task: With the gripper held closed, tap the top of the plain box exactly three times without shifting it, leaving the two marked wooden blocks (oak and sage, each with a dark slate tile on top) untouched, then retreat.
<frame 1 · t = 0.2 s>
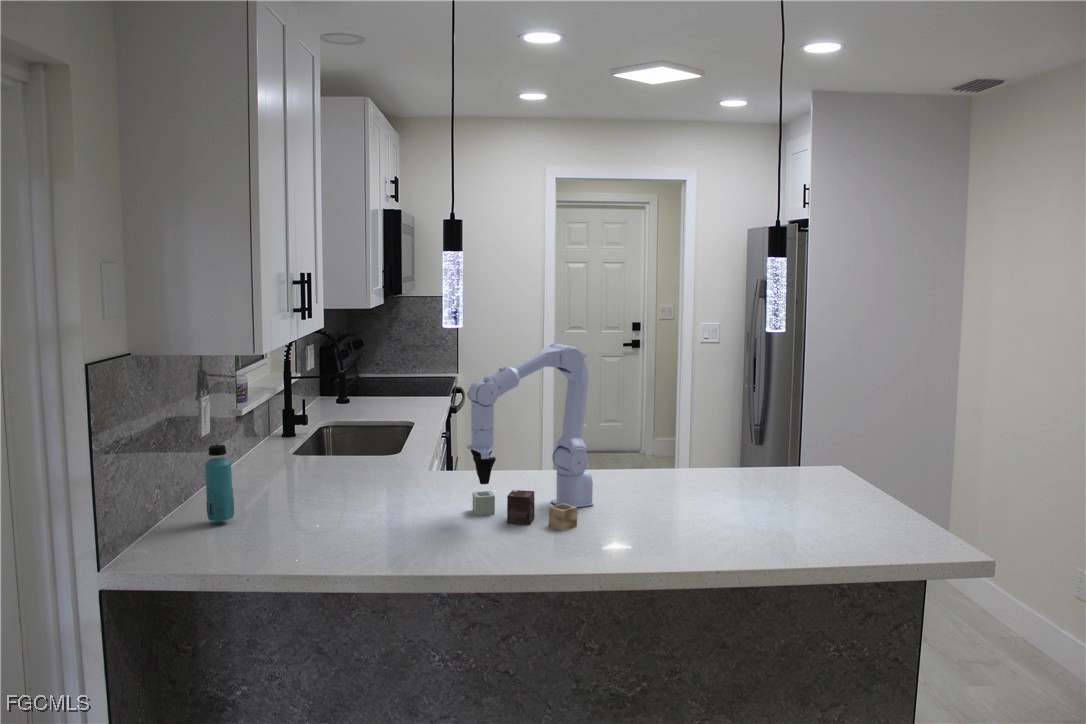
hand: (483, 479, 220), 10 cm above the worktop, fingers open, 7 cm apart
oak marked block: (562, 526, 215), on the worktop
beverage bottle: (220, 523, 216), on the worktop
sage marked block: (483, 512, 227), on the worktop
box: (520, 521, 219), on the worktop
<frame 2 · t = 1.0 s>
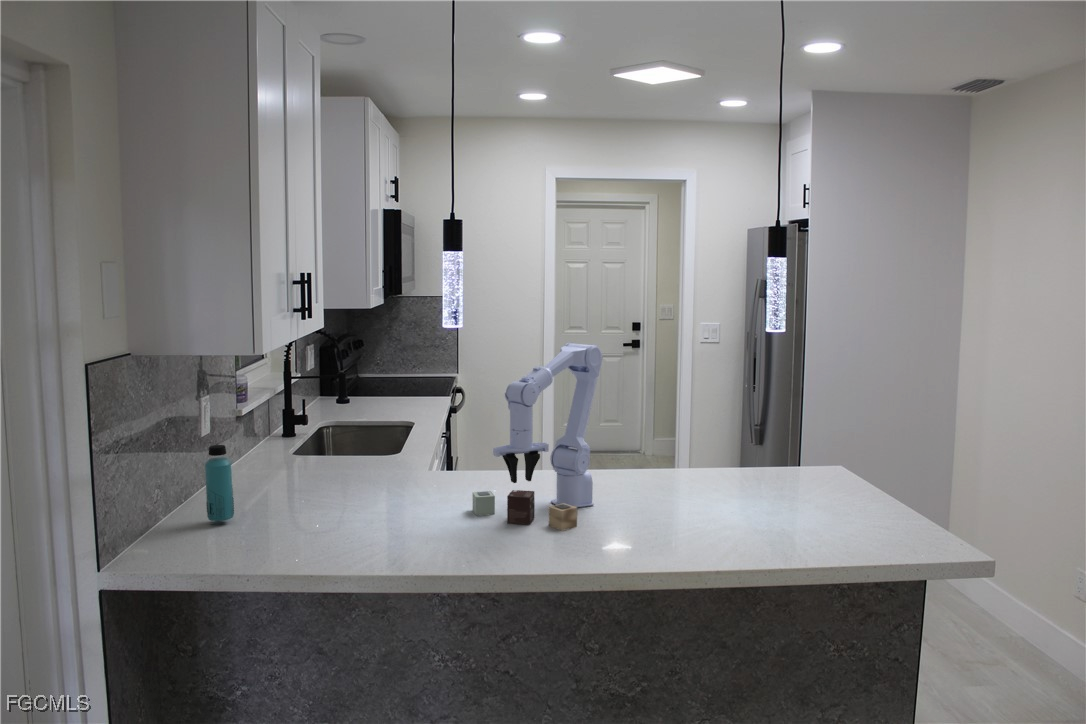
hand: (521, 481, 218), 10 cm above the worktop, fingers open, 3 cm apart
nothing on the worktop moved.
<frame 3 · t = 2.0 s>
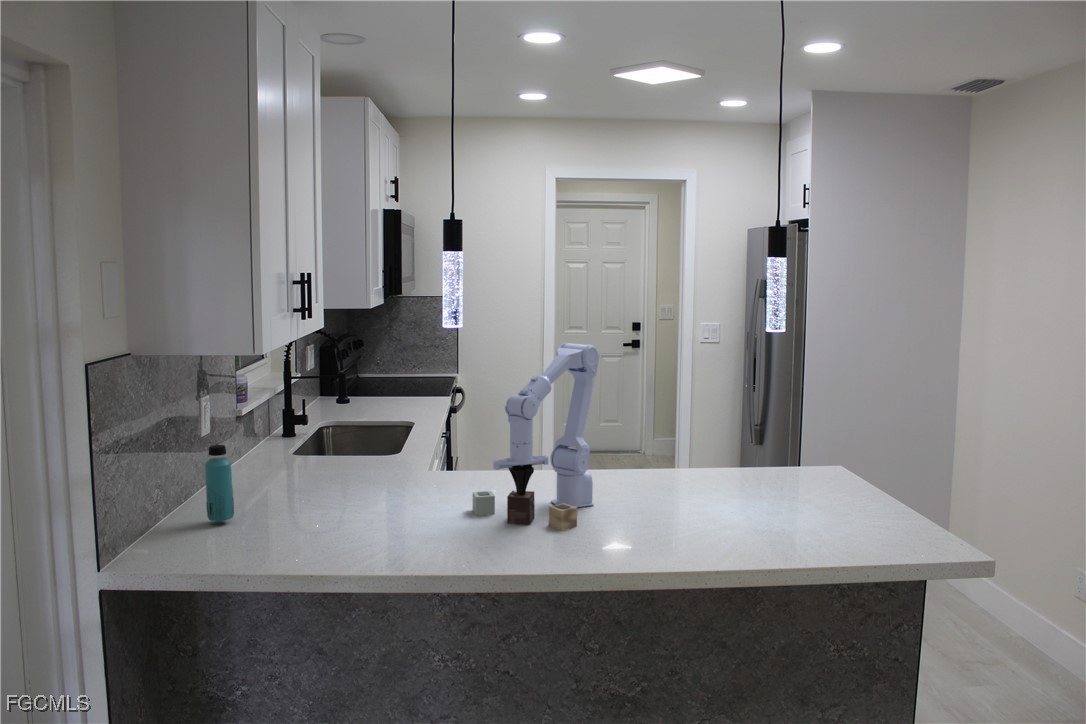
hand: (520, 494, 218), 7 cm above the worktop, fingers closed, pressing on box
box: (520, 522, 219), on the worktop, touching gripper
everything else where it was.
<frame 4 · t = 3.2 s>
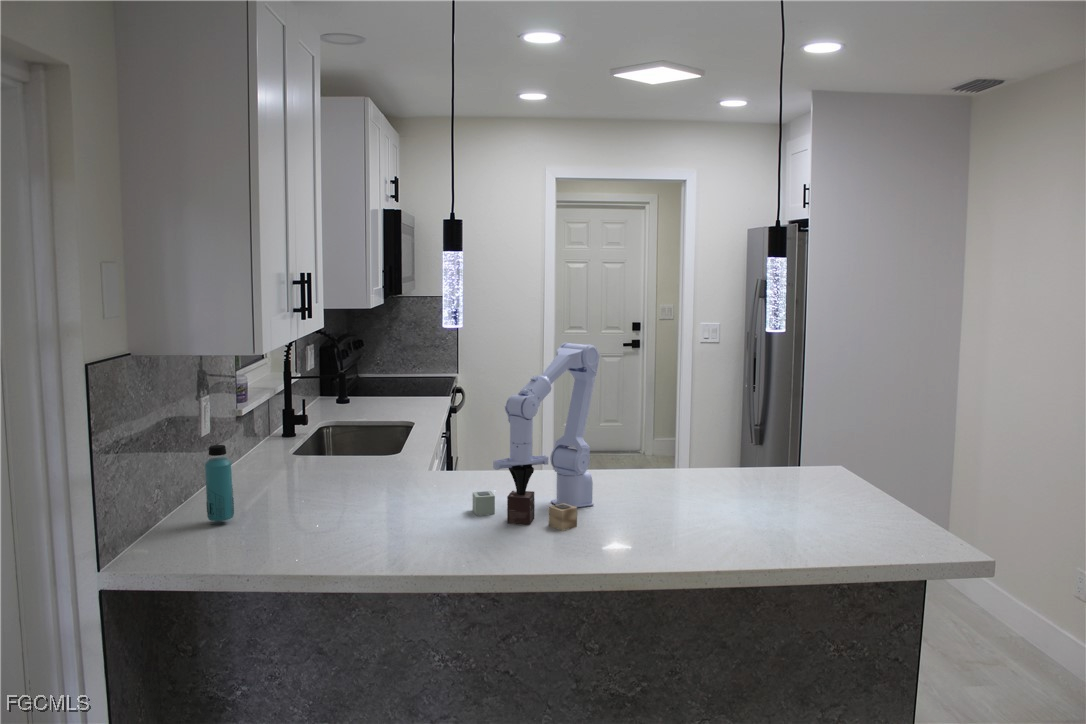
hand: (520, 494, 218), 7 cm above the worktop, fingers closed, pressing on box
box: (520, 522, 219), on the worktop, touching gripper
everything else where it was.
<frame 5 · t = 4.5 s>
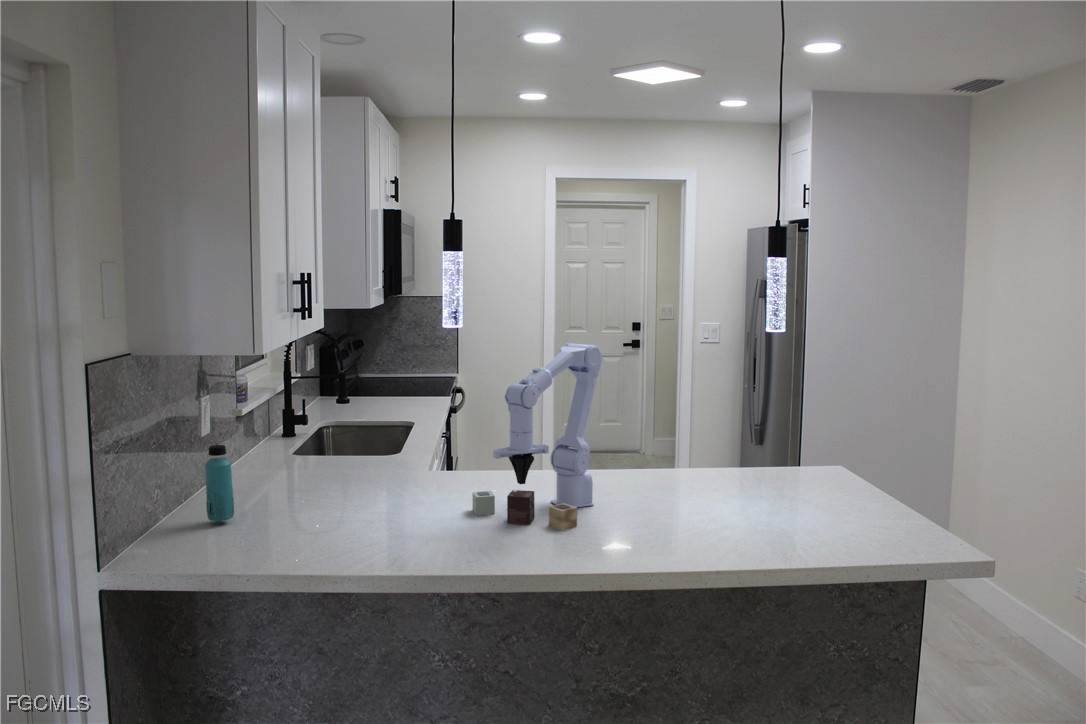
hand: (521, 483, 218), 10 cm above the worktop, fingers closed
box: (520, 521, 219), on the worktop
everything else where it was.
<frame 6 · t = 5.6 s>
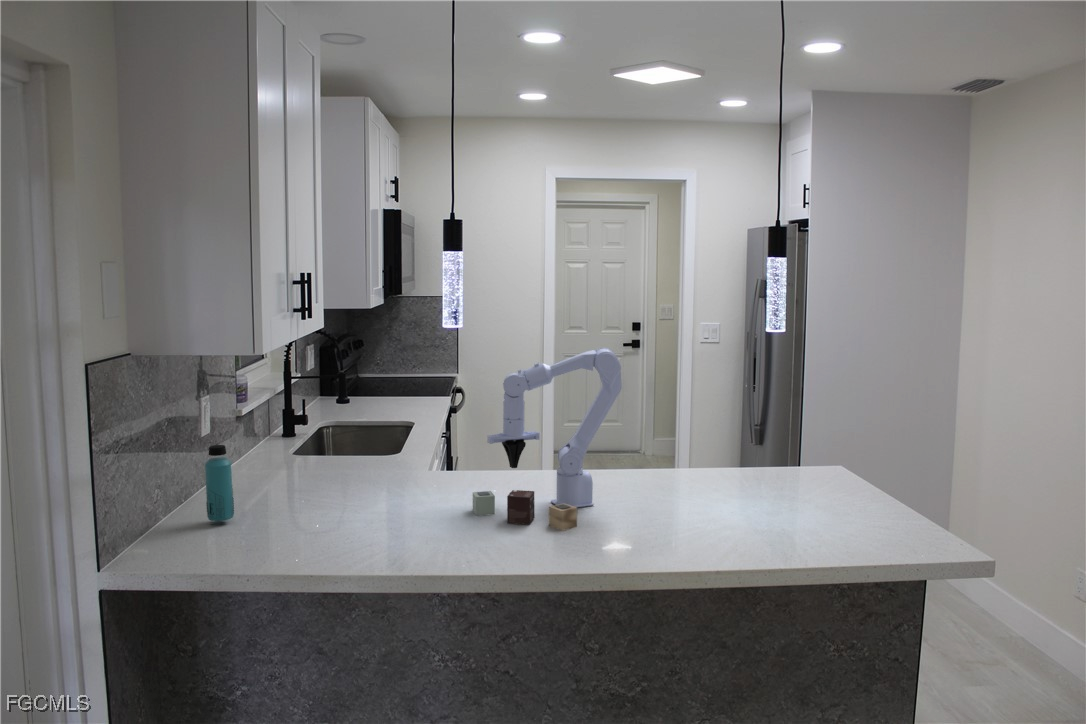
hand: (513, 467, 232), 10 cm above the worktop, fingers closed
nothing on the worktop moved.
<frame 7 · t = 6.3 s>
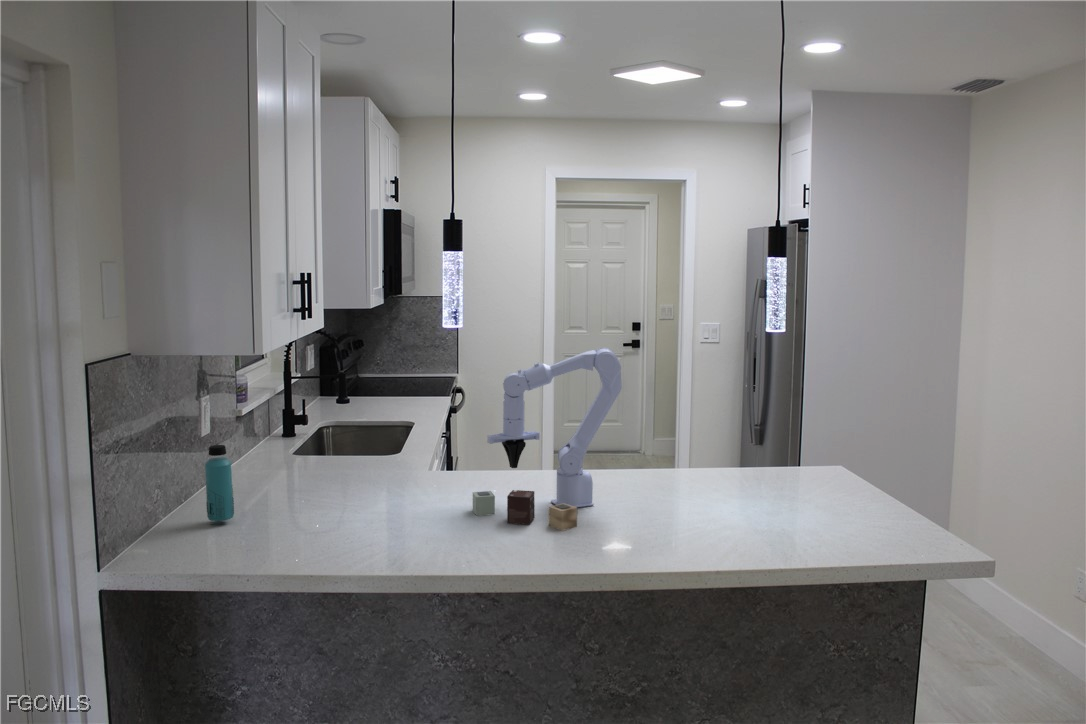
hand: (513, 467, 232), 10 cm above the worktop, fingers closed
nothing on the worktop moved.
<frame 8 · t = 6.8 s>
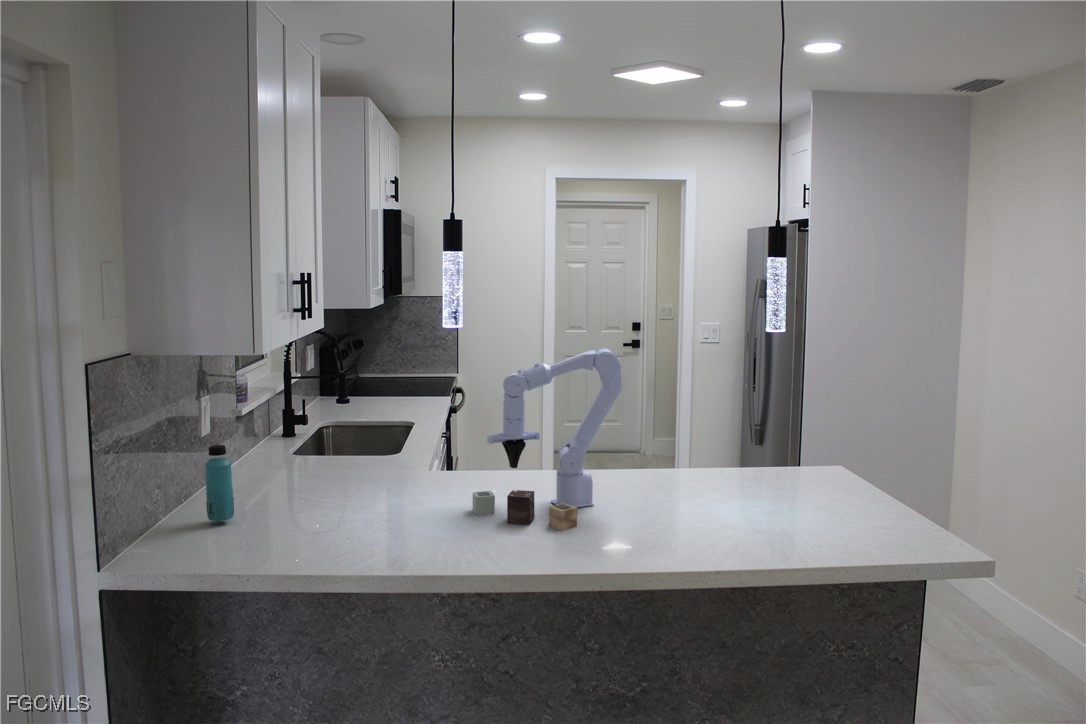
hand: (513, 467, 232), 10 cm above the worktop, fingers closed
nothing on the worktop moved.
at the end: box moved 0.3 cm from its start; box tilted 0°; oak marked block moved 0.1 cm from its start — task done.
